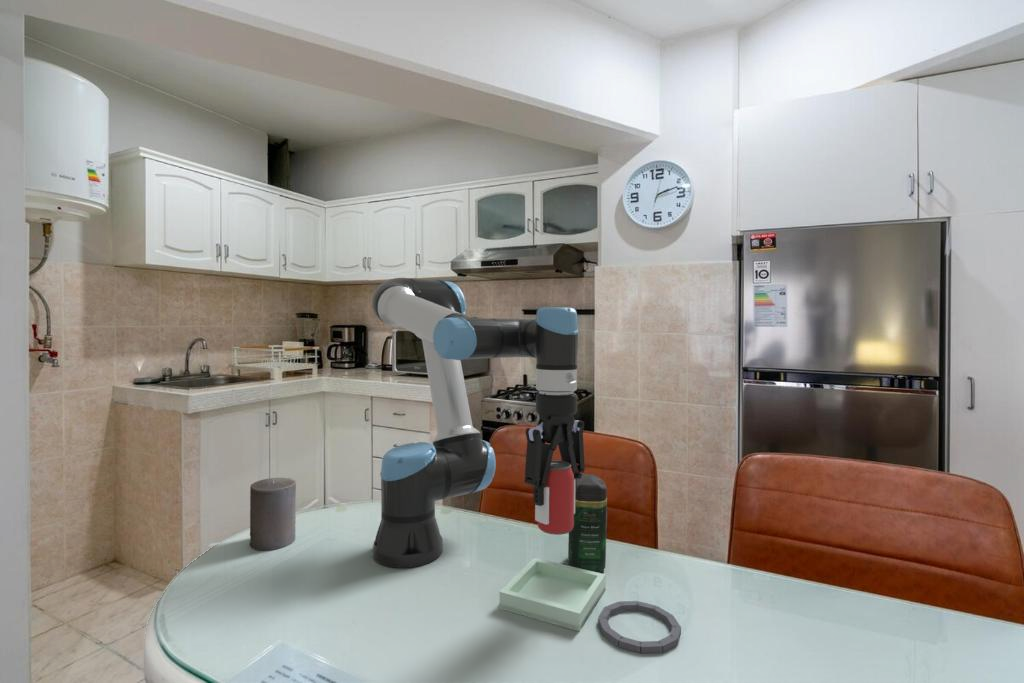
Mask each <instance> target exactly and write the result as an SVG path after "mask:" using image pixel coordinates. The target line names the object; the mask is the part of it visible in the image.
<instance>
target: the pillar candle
mask: <svg viewBox="0 0 1024 683" xmlns="http://www.w3.org/2000/svg"><path fill="white" fill-rule="evenodd" d="M296 484H297V480H295V479H293V478H290V477H270V478H269V477H268V478H265V479H264V478H263V479H260V480H257V481H255V482H253V483H251V484H250V490H249V491H250V492H249V494H250V496H249V500H250V501H249V502H250V504H249V506H250V507H249V508H250V510H249V530H250V531H249V536H250V537H249V538H250V541H249V547H250V548H251V549H252V550H256V551H262V552H266V551H274V550H275V551H276V550H278V549H282V548H286V547H287V546H290V545H291V544H293V543H295V540H296V522H297V521H296V518H297V517H296V512H297V508H296V502H297V500H296V494H297V491H296V490H297V485H296Z"/></svg>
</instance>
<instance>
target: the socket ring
mask: <svg viewBox="0 0 1024 683" xmlns="http://www.w3.org/2000/svg"><path fill="white" fill-rule="evenodd" d="M629 611H634V612H636V611H639V612H641V613H647V614H650V615H654V616H655V617H657V618H659V620H662V621H663V622H665V623H666V624H667V626H668V628H669V630H670V632H669V635H668V636H665V637H663V638H661V639H659V640H651V641H639V640H636V639H633V638H629V637H626V636H623V635H621V634H620V633H619V632H617V631H616V630H614V629H613V628H611V625H610V624H609V621H610V618H611V616H614V615H615V614H618V613H620V612H629ZM597 623H598V626H599V628H600V632H601V634H602V636H603V637H605V638H606V639H607V640H609V641H611V643H613V644H614V645H616V646H617V647H619V648H620V649H625V650H629V651H632V652H635V653H639V654H656V653H658V654H659V653H661V654H662V653H665V652H667V651H668V650H671V649H673V648H675V647H677V646H678V645H679V643H680V639H681V635H682V626H681V625H680V623H679V622H678V620H677V619H676V618H675V615H673V614H672V613H670V612H668V611H666V610H665V609H663V608H662V607H660V606H658V605H656V604H652V603H648V602H643V601H640V600H638V601H637V600H627V601H625V600H624V601H622V600H621V601H619V600H618V601H616V602H614V603H611V604H608V605H605V606H604V607H603V608H602V610H601V612H600V614H599V615H598V620H597Z"/></svg>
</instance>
